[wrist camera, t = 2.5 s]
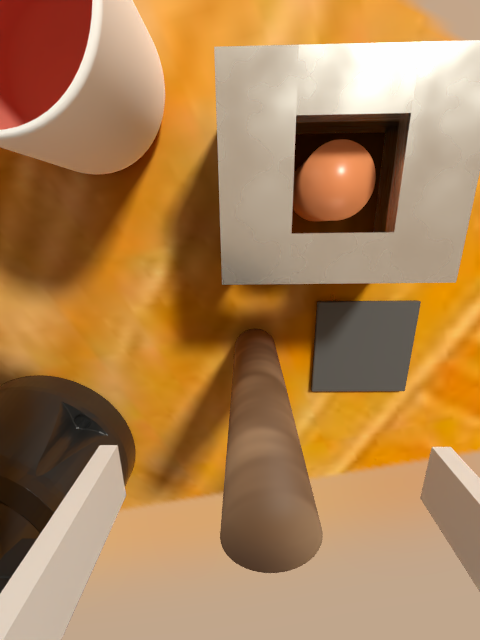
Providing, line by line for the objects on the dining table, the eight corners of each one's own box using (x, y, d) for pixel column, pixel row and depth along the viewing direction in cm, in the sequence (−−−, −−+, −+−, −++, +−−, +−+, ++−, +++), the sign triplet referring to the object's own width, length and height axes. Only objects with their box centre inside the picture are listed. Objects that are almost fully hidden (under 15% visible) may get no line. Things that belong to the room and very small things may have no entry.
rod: (235, 365, 26) (221, 572, 10) (234, 329, 25) (218, 498, 9) (274, 365, 26) (319, 573, 10) (275, 328, 25) (326, 499, 9)
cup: (188, 38, 19) (130, -155, 9) (148, 198, 22) (73, 178, 12) (30, -31, 18) (-218, -326, 8) (11, 146, 21) (-189, 78, 11)
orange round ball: (287, 221, 20) (299, 221, 16) (289, 159, 19) (302, 139, 15) (343, 221, 20) (370, 220, 16) (349, 158, 19) (380, 138, 14)
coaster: (311, 389, 26) (312, 391, 26) (317, 301, 24) (318, 302, 23) (402, 388, 26) (404, 391, 26) (417, 300, 24) (420, 301, 23)
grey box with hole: (229, 264, 23) (221, 284, 15) (225, 115, 20) (214, 46, 12) (385, 263, 23) (455, 282, 15) (405, 111, 20) (508, 39, 12)
